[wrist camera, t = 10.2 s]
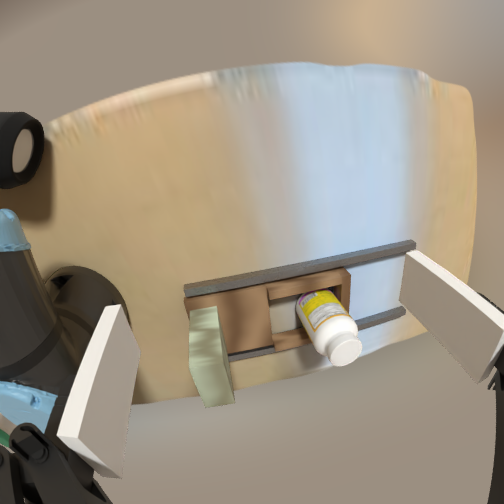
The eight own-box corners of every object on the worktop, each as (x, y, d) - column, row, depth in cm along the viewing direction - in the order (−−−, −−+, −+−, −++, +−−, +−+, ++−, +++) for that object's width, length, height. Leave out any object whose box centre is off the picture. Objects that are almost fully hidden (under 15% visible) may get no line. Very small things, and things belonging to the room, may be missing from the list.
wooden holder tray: (201, 353, 46) (204, 414, 34) (184, 297, 41) (180, 358, 30) (340, 323, 48) (373, 373, 37) (342, 266, 44) (385, 311, 32)
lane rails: (206, 359, 47) (206, 365, 46) (184, 284, 41) (183, 289, 40) (401, 310, 51) (405, 314, 49) (411, 239, 45) (416, 242, 43)
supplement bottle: (327, 318, 48) (359, 368, 36) (291, 319, 47) (317, 374, 35) (337, 284, 45) (375, 331, 34) (299, 284, 44) (330, 336, 32)
